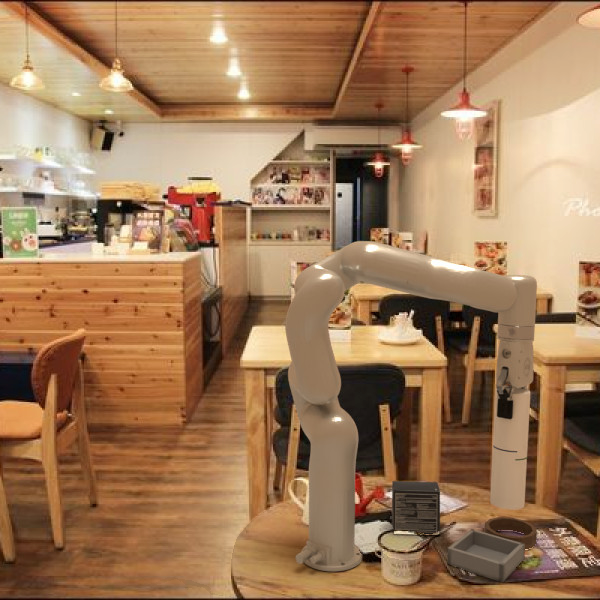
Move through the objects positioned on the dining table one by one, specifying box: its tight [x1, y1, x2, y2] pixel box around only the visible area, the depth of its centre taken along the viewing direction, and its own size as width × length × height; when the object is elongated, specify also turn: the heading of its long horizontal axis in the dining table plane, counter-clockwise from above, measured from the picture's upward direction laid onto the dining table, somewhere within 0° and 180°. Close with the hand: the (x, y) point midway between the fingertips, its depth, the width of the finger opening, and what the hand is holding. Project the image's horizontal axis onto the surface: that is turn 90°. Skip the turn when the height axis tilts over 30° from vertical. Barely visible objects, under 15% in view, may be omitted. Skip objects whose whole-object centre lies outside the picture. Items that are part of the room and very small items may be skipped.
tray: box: [446, 528, 526, 583], centre depth 139 cm, size 12×12×4 cm
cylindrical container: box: [489, 387, 531, 511], centre depth 147 cm, size 7×7×25 cm
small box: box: [391, 480, 441, 534], centre depth 154 cm, size 11×6×10 cm, turn 84°
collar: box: [484, 516, 538, 549], centre depth 149 cm, size 11×11×3 cm
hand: (511, 413), depth 147 cm, fingers closed on cylindrical container, 7 cm apart
